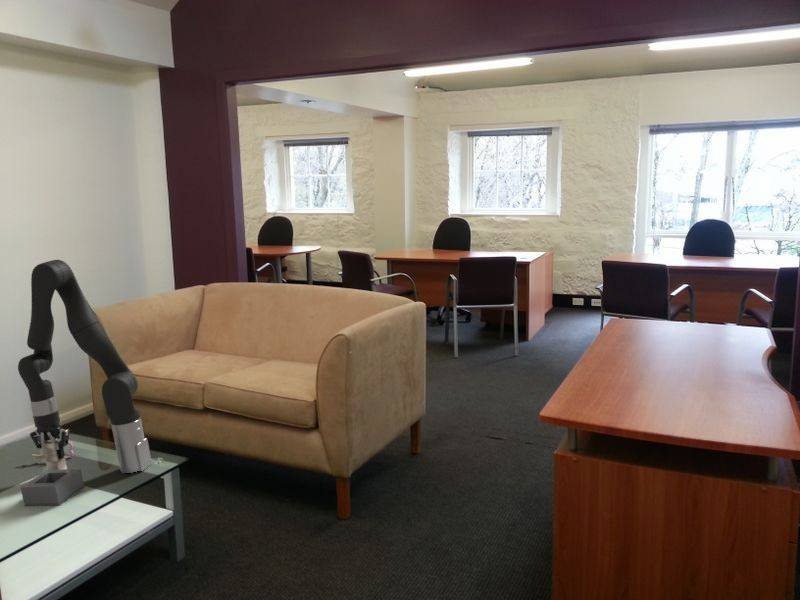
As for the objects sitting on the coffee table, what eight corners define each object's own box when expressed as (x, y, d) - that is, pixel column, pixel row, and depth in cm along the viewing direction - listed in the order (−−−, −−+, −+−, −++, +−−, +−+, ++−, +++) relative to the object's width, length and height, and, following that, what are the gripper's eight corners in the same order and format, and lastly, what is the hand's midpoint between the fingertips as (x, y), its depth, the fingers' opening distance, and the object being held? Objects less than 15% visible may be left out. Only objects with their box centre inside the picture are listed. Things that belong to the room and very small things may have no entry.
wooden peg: (67, 471, 220) (60, 438, 218) (59, 477, 216) (52, 443, 214) (57, 472, 221) (50, 439, 219) (49, 477, 217) (42, 444, 215)
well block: (84, 487, 206) (80, 468, 205) (59, 505, 194) (55, 486, 193) (51, 487, 208) (47, 469, 207) (24, 506, 196) (20, 487, 195)
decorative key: (21, 473, 231) (77, 455, 234) (19, 474, 230) (76, 456, 233) (13, 456, 229) (70, 438, 232) (12, 458, 228) (69, 439, 231)
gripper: (71, 406, 217) (81, 453, 220) (34, 408, 220) (44, 454, 222) (56, 414, 210) (66, 463, 213) (18, 416, 212) (29, 464, 215)
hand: (55, 458), depth 218 cm, fingers closed on wooden peg, 4 cm apart
